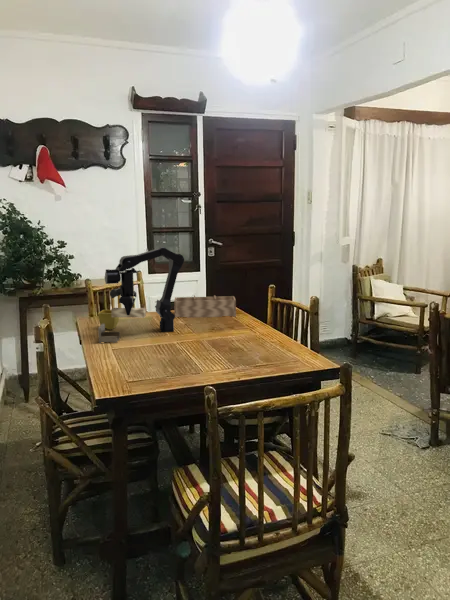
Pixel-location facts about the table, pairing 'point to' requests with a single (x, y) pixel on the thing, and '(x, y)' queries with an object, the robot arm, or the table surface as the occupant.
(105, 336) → the bracket
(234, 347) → the table surface
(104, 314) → the flower pot
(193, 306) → the holder
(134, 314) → the rail
